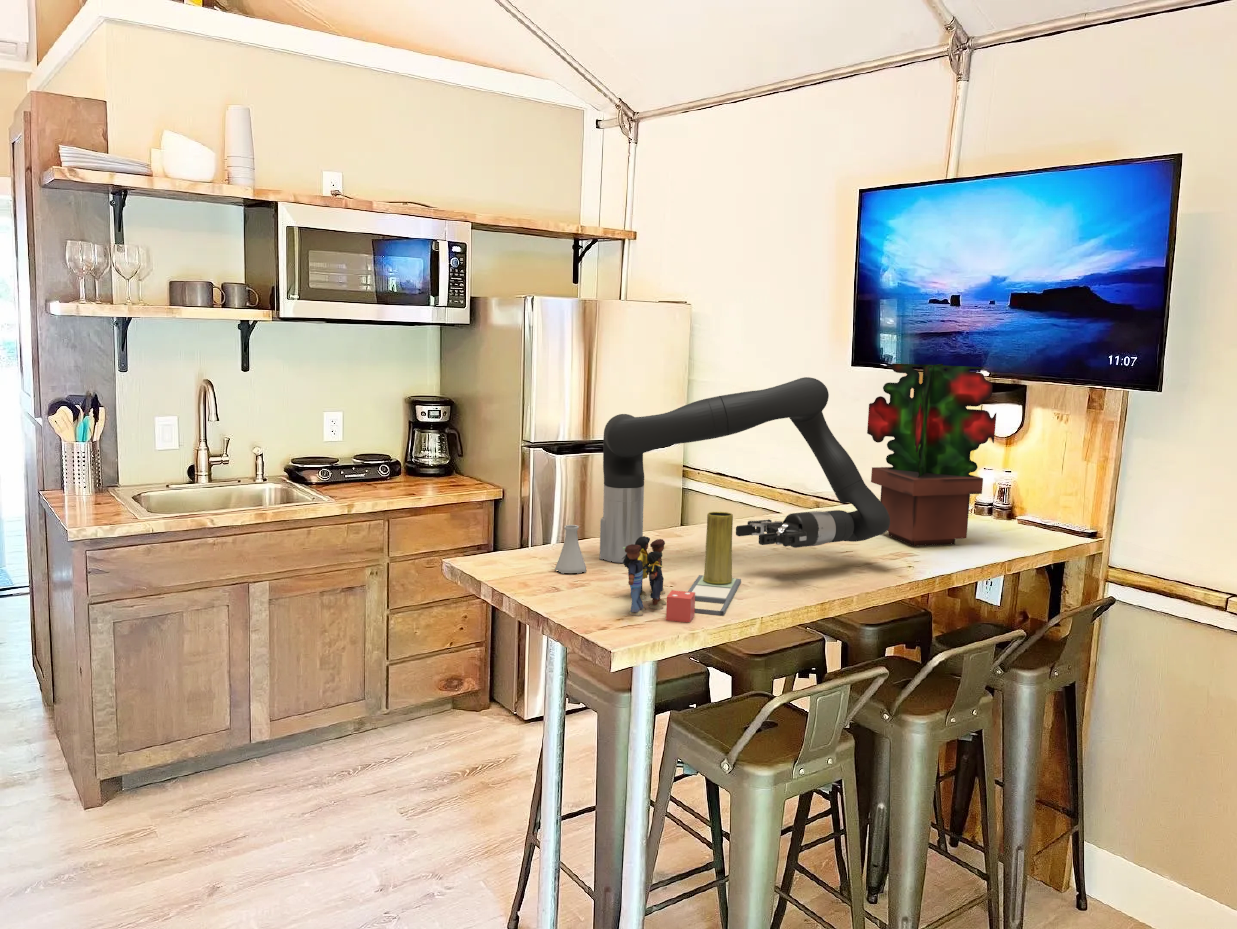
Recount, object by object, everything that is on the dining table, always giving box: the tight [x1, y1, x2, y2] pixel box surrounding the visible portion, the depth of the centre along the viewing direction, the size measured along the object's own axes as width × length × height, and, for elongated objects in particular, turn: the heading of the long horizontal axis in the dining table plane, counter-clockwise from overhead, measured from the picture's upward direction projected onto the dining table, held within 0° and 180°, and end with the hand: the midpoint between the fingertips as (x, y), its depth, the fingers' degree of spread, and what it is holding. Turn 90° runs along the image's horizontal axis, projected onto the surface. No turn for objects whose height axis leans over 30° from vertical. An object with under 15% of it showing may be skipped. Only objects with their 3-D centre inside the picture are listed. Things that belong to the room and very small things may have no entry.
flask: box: [554, 524, 587, 574], centre depth 210 cm, size 7×7×10 cm
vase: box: [703, 511, 734, 584], centre depth 201 cm, size 6×6×14 cm
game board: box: [687, 574, 742, 617], centre depth 194 cm, size 9×24×1 cm, turn 165°
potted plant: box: [866, 362, 997, 547], centre depth 245 cm, size 22×22×45 cm
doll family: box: [622, 535, 667, 617], centre depth 188 cm, size 23×9×13 cm, turn 1°
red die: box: [665, 590, 696, 623], centre depth 179 cm, size 4×4×5 cm
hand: (748, 535), depth 204 cm, fingers open, 8 cm apart
